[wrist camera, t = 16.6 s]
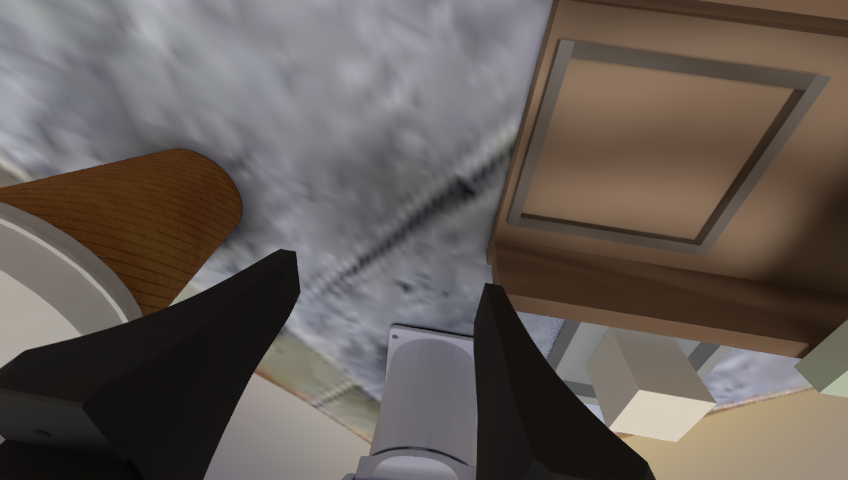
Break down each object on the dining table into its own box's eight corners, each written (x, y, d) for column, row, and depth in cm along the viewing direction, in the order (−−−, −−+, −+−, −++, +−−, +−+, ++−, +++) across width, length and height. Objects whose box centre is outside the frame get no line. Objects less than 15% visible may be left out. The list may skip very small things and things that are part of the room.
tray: (656, 396, 28) (667, 417, 27) (538, 376, 29) (542, 395, 27) (729, 311, 23) (747, 331, 21) (581, 287, 23) (589, 305, 22)
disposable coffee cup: (114, 98, 20) (-253, 170, 10) (271, 155, 21) (81, 277, 11) (135, 226, 25) (-90, 361, 15) (261, 268, 26) (127, 423, 16)
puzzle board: (852, 313, 22) (972, 402, 17) (486, 253, 23) (490, 321, 17) (1184, 21, 13) (1653, 16, 8) (569, -58, 14) (627, -109, 9)
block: (643, 376, 26) (676, 442, 22) (585, 365, 26) (607, 429, 22) (673, 337, 24) (716, 403, 20) (609, 326, 24) (639, 389, 20)
